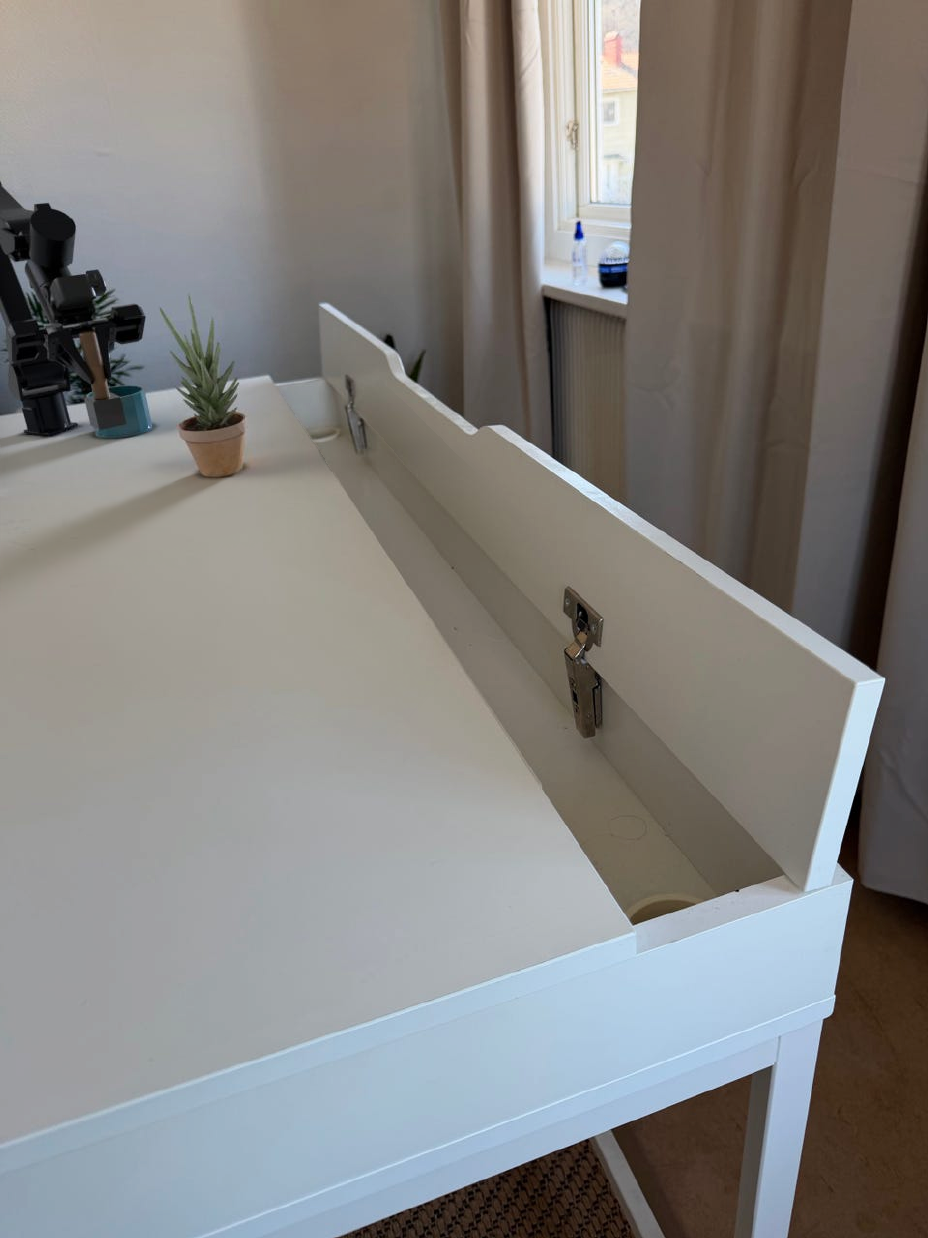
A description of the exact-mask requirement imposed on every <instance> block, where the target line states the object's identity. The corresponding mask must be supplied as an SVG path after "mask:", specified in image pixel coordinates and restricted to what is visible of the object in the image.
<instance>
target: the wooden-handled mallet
mask: <svg viewBox="0 0 928 1238" xmlns="http://www.w3.org/2000/svg"><path fill="white" fill-rule="evenodd" d="M79 338H80V339H79V342H80V345H81V349H82V354H83V359H84V361H85V363H86V365H87V366H88V368H89V370H90V372H91V374H92V377H93V379H94V383H93V384H90V387H91V392H93V396H91V397H86V396H85V397H83V401H84V403H85V408H86V413H87V416H88V420H89V425H90V426H91V427H93V428H94V427H95V428H97V429H98V430H104V429H108V428H113V427H117V426H122V425H126V424H127V422H126V418H125V414H124V409H123V405H122V401H121V397H119V396H117V395H115V394H113V393H109V389H108V387H109V385H108V380H107V379H106V376H105V371H104V367H103V363H102V359H101V354H100V350H99V346H98V341H97V337H96V333H95V332H93V331H89V332H82V333H79Z"/></svg>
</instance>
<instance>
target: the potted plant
mask: <svg viewBox="0 0 928 1238" xmlns="http://www.w3.org/2000/svg"><path fill="white" fill-rule="evenodd" d="M187 299H188V305H189V310H190V316H191V324H192V328H193V329H190V339H191V342H190V341H189V339H188V337H187V335H186V333H184V335H183V336H184V339H183V337H182V336H181V335H180V333H179V331H178V330H177V328H176V327H175V326H174V324H173V323H172V322H171V320H170V319H169V317H168V316H167V315H166V313H165V312H164V311H163V308H162V307H161V306H160V305H159V306H158V308H159V312H160V314H161V316H162V318H163V320H164V322H165V324H166V326H167V327H168V329H169V330H170V332H171V334H172V336H173V337H174V339H175V341H176V343H177V344H178V346H179V348H180V349H181V351H182V352H183V353H184V355H185V360H186V363H187V365H186V364H185V363H183V361H181V360H180V359H179V358H178V356H176V355H175V354H174V352H173V351H171V350H169V353H170V354H171V356H172V358H173V359H174V361H175V363H176V364H177V366H179V368H180V369H181V371H182V372H183V373H184V374H185V375H186V376H187V377H188V379H189V380H190V381H191V382H192V384H193V385H192V384H191V383H190V382H189V381H188V380H187V379H186V378H185V377H184V376H180V378H181V381H180V384H181V385H182V386H183V387H184V388H185V389H186V390H187V392H188V393H187V392H185V391H184V390H182V389H181V388H179V387H178V386H177V385H173V387H174V388H175V389H176V391H178V392H179V393H180V394H181V395H182V396H183V397H184V398H185V399H182V401H184V403H185V404H186V405H187V406H188V407H189V408H190V409H191V410H193V411H194V412H195V413H193V415H194V416H191V417H189V418H186V419H184V420H182V421H181V422H179V423H178V424H177V430H178V431H177V432H178V434H179V438H180V439H181V440H183V441H184V442H185V444H186V446H187V449H188V450H189V452H190V453H191V456H192V457H193V460H194V461H195V464H196V466H197V468H198V470H199V471H200V473H201V475H203V476H205V477H210V478H219V477H220V478H221V477H228V476H231V475H235V474H236V473H238V472H240V471H241V470H242V469H243V463H244V452H245V451H244V449H245V440H246V439H245V438H246V432H247V430H248V427H249V426H248V419H247V416H246V415H245V414H244V413H243V412H242V413H241V412H238V411H237V409H238V406H236V407H235V408H234V409H232V410H231V411H229V409H230V408H231V407H232V405H233V403H234V402H235V400H236V399H237V398H238V393H236V391H237V389H238V387H239V385H240V382H237V381H238V377H235V378H234V379H233V381H232V382H231V383H230V386H229V387H228V388H227V390H226V391H224V390H225V388H226V385H227V384H228V381H229V380H230V377H231V375H232V372H233V369H234V367H235V360H232V361H231V364H230V365H229V366H228V367H227V369H226V370H225V372H224V373H223V374H222V375H221V376H220V375H219V374H220V361H221V359H220V357H221V344H220V342H219V341H217V343H216V346H215V323H214V317H212V318H211V322H210V325H209V333H208V338H207V339H208V340H207V346H206V350H205V355H204V351H203V345H202V342H201V336H200V332H199V327H198V324H197V320H196V313H195V310H194V306H193V303H192V298H191V296H190V293H189V292H187ZM215 347H216V348H215ZM235 393H236V394H235ZM196 413H197V414H196Z"/></svg>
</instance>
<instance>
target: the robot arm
mask: <svg viewBox="0 0 928 1238" xmlns="http://www.w3.org/2000/svg"><path fill="white" fill-rule="evenodd" d="M76 234H77V225H76V222H75V220H74V218H73V217H70V216H69V215H68V214H67V213H65V212H63V211H61V210H58V209H56V208H52V206H51V205H50V203H49V202H44V203H42V202H41V203H34V204H33V210H30V209H26V208H24V207H23V206H22V204H21V203H20V202H18V200H17V199H16V198H15V197H14V196H12V194H10V192H8V190H7V189H5V187H4V186H3V184H2V182H1V180H0V316H1V318H2V320H3V323H4V326H5V347H6V350H7V353H8V356H7V361H8V372H7V373H8V378H7V385H8V389H9V392H10V394H11V397H12V398H13V399H15V400H17V401H19V402H21V404H22V408H21V411H22V415H23V419H24V422H25V426H26V429H23V433H24V434H27V435H39V436H47V437H48V436H49V437H50V436H53V435H56V434H59V433H62V432H65V431H67V430H70V429H73V428H76V427H78V426H79V423H78V422H76V421H75V422H72V421H71V417H70V413H69V410H68V406H67V402H66V398H65V395H64V393H66V392H71V391H72V390H71V389H72V388H71V377H70V371H72V372H73V373H75V375H77V376H79V377H80V378H81V379H82V380H84V381H85V382H87V384H89V385H91V384H93V383H94V379H93V377H92V374H91V372H90V370H89V368H88V366H87V365H86V362H85V359H84V357H83V356H82V355H81V353H80V350H79V349H78V348H77V346H76V344H75V343H76V342H75V341H78V340H80V338H79V333H82V332H89V331H93V332H95V333H96V337H97V341H98V346H99V350H100V354H101V359H102V363H103V367H104V371H105V376H106V380H107V382H111V381H112V376H113V375H112V368H111V367H112V366H111V357H110V352H112V351H113V350H115V344H116V343H117V344H119V345H127V344H134V343H139V342H140V341H141V340H143V335H144V330H145V324H146V319H147V318H146V317H147V316H146V314H145V312H144V310H143V309H142V307H141V306H140V305H139V304H137V303H129V304H122V305H115V306H111V307H110V316H109V317H110V318H108V317H101V318H95V319H94V317H93V315H96V312H97V311H96V310H97V308H96V305H95V304H94V301H95V300H96V299H97V298H98V297H102V296H104V295H105V294H106V292H107V290H108V289H107V285H106V282H105V279H104V277H103V275H102V274H101V272H100V270H99V269H97V268H96V269H91V270H86V271H85V273H81V274H73V275H72V273H71V270H70V269H69V266H70V265H72V264H73V261H74V252H75V241H76ZM12 261H13V262H12ZM20 262H26V263H25V265H24V273H25V275H26V276H27V279H28V284H29V287H30V289H32V290H33V291H34V294H35V296H36V298H37V300H38V303H39V305H40V306H41V308H42V315H43V317H44V319H45V320H46V319H47V320H48V322H49V323H45V324H43V326H42V328H41V329H40V325H39V323H38V321H37V319H35V317H34V315H33V313H32V310H31V308H30V305H29V303H28V300H27V297H26V295H25V293H24V289H23V288H22V285H21V283H20V280H19V276H18V275H17V272H16V270H15V267H14V265H13V263H20ZM69 370H70V371H69Z"/></svg>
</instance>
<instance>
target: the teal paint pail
mask: <svg viewBox="0 0 928 1238" xmlns="http://www.w3.org/2000/svg"><path fill="white" fill-rule="evenodd" d="M108 389H109V393H113V394H115V395H117V396H119V397H121V401H122V405H123V409H124V414H125V418H126V422H127V424H126V425H122V426H117V427H113V428H108V429H104V430H98V429H97V428H95V427H93V430H94V434H95V436H96V437H97V438H100V439H122V438H129V437H134V436H138V435H142V434H144V433H147V432H149V431H150V430H152V429H153V422H152V419H151V413H150V409H149V404H148V400H147V399H148V398H147V396H146V392H145V391H146V390H145V387H144V386H142V385H135V384H129V385H128V384H127V385H116V386H108ZM91 396H93V391H91V392H89V393H86V396H85V398H86V397H91Z"/></svg>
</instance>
